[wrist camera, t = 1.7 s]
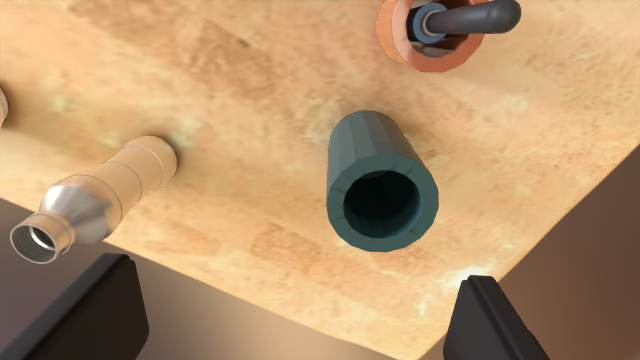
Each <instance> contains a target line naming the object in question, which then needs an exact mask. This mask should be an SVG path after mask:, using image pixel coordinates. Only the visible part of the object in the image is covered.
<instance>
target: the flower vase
mask: <svg viewBox="0 0 640 360" xmlns="http://www.w3.org/2000/svg"><path fill="white" fill-rule="evenodd" d="M7 114H8V102H7V99H6V97H5V95H4V93H3V92H2V91H1V89H0V129H1V127H2V124H3V121H4V119H5V118H6V117H7Z"/></svg>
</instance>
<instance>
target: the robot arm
mask: <svg viewBox="0 0 640 360" xmlns="http://www.w3.org/2000/svg"><path fill="white" fill-rule="evenodd" d="M148 335H149V325H148V320H147V316H146V311H145V306H144V302H143V297H142V293H141V289H140V283H139V279H138V274H137V270H136V265H135V262H134V261H133V260H130V258H129V256H128V255H126V254H114V253H105V254H103V255H101V256H100V257H99V258H98V259H97V260H96V261H95V262H94V263H93V264H92V265H91V266H89V267H88V268H87V269H86V270H85V271H84V272H83V273H82V274H81V275H80V276H79V277H78V278H77V279H76V280H75V281H74V282H73V283H72V284H71V285H70V286H69V287H68V288H67V289H66V290H65V291H63V292H62V294H60V295H59V296H58V297H57V298H56V299H55V300H54V301H53V302H52V303H51V304H50V305H49V306H48V307H47V308H46V309H45V310H44V311H43V312H42V313H41V314H40V315H39V316H38V317H36V318H35V319H34V320H33V321H32V322H31V323H30V324H29V325H28V326H27V327H26V328H25V329H24V330H23V331H22V332H21V333H20V334H19V335H18V336H17V337H16V338H15V339H14V340H13V341H12V342H11V343H9V344H8V345H7V346H6V347H5V348H4V349H3V350H2V351H1V352H0V360H135V359H136V358H137V356H138V354H139V353H140V351H141V349H142V348H143V346H144V344H145V343H146V341H147V338H148ZM443 356H444V360H550V359H549V357H548V356H547V354H546V353H545V352H544V350H543V348H542V347H541V345H540V344H539V342H538V341H537V339H536V338H535V336H534V335H533V334H532V333H531V332H530V331H529V330H528V329H527V327H526V326H525V324H524V323H523V321H522V320H521V318H520V317H519V315H518V314H517V312H516V311H515V309H514V308H513V306H512V305H511V303H510V302H509V300H508V299H507V297H506V295H505V294H504V292H503V291H502V290H501V288H500V286H499V285H498V283H497V282H496V280H495V279H494V278H493V277H491V276H478V275H470V276H469V277H468V279H467V280H463V281H462V282H461V285H460V289H459V292H458V296H457V299H456V303H455V307H454V310H453V314H452V317H451V321H450V325H449V328H448V332H447V336H446V339H445V343H444V347H443Z"/></svg>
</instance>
